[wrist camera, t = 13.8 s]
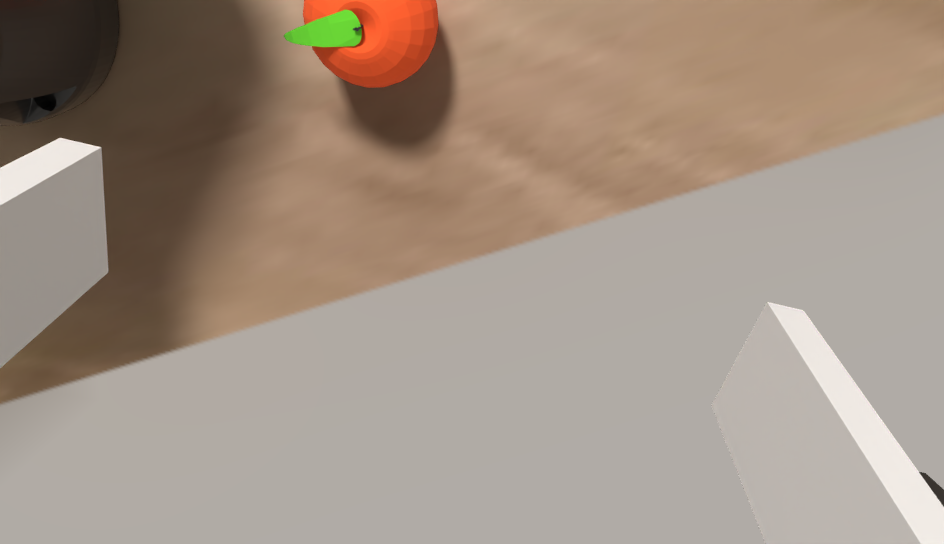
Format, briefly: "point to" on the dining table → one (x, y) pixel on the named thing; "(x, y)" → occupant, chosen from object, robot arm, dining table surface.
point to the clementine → (369, 37)
